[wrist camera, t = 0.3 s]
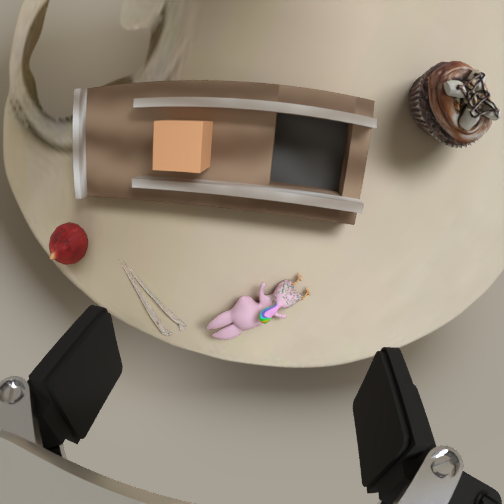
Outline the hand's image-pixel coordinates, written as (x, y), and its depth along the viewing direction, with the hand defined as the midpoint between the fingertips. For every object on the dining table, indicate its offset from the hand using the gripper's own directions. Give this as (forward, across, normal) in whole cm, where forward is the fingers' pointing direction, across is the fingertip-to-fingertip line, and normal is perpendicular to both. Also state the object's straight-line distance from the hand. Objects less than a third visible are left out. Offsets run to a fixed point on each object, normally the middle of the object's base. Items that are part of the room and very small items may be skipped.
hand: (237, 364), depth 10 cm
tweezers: (+29, +18, +17) cm, 38 cm away
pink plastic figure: (+29, 0, +16) cm, 33 cm away
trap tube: (+28, +8, -5) cm, 29 cm away
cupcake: (+28, -19, -14) cm, 36 cm away
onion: (+28, +28, +9) cm, 40 cm away
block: (+25, +10, -5) cm, 27 cm away
